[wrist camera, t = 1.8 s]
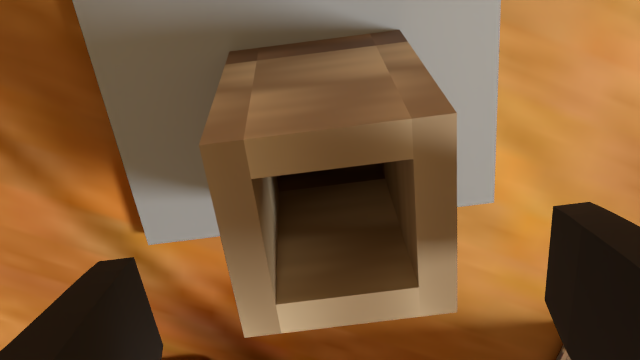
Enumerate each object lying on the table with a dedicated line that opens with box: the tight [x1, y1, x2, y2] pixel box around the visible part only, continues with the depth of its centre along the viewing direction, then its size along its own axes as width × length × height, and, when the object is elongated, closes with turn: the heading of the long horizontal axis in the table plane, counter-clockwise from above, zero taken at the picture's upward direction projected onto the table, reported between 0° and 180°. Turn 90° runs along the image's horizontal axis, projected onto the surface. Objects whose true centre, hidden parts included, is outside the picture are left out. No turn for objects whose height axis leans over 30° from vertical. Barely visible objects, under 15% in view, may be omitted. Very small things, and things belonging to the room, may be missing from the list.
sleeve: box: [199, 30, 457, 338], centre depth 14 cm, size 5×5×6 cm
